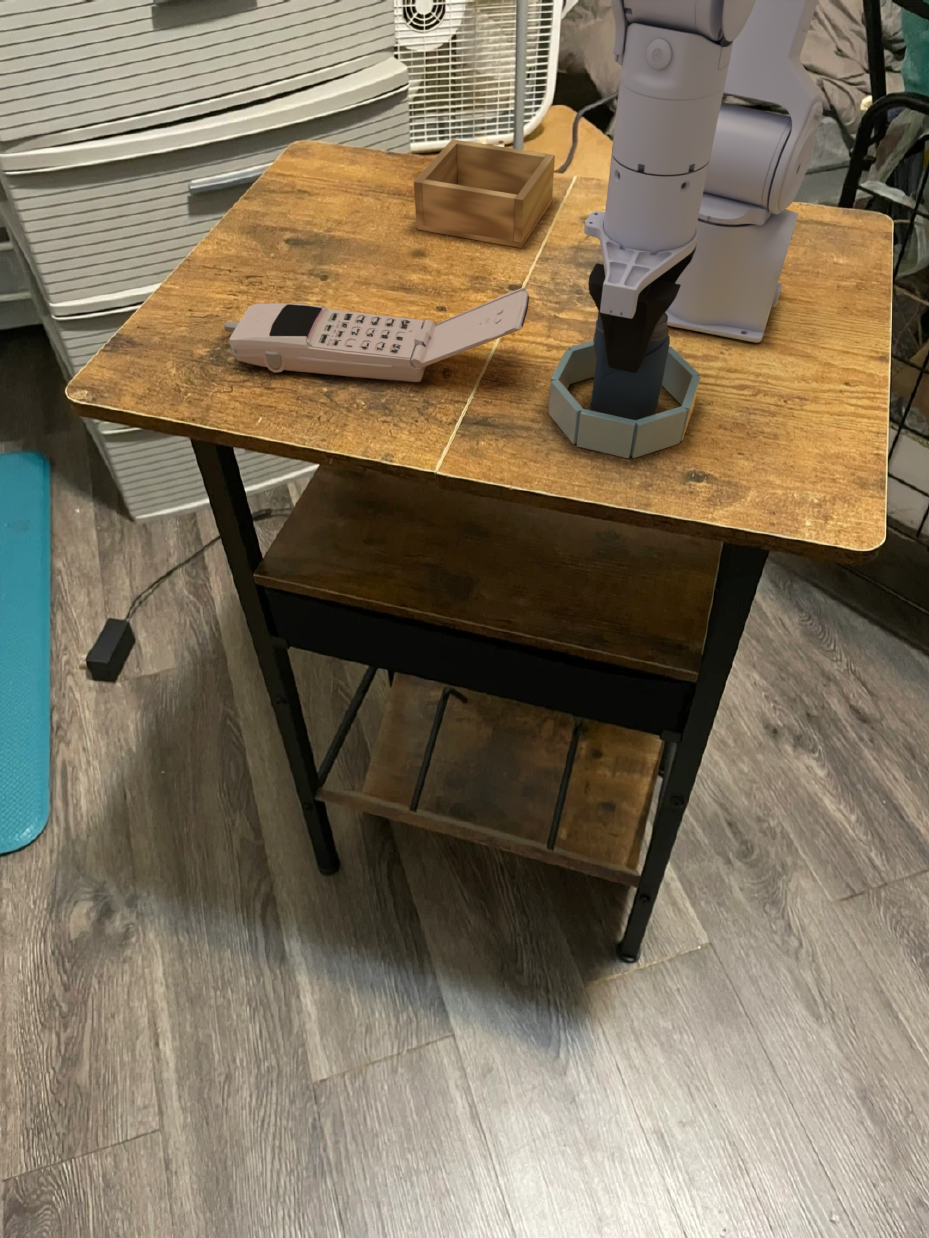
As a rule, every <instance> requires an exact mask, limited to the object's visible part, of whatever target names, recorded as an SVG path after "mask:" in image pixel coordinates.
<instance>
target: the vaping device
mask: <svg viewBox="0 0 929 1238" xmlns="http://www.w3.org/2000/svg"><path fill="white" fill-rule="evenodd" d="M667 321H668V315H667V314H666V313H664V314H663V315H662V317H661V318H660V320H659V321H658V323H657V325H656V326H655V329H654V331H653V334H652V337H651V340H650V343H649V346H648V349H647V351H646V354H645V356H644V359H643V361H642V363H641V366H640V368H639V369H638V371H637V372H636V373H633V372H628V371H623V370H618V369H613V368H610V367H609V366H608V361H607V356H606V348H605V339H604V331H603V325H602V321H601V317H600V314H599V311H598V310H597V318H596V321H595V329H594V334H593V337H592V338H593V339H592V341H594V351H595V354H596V368H595V376H594V377H593V384H592V392H591V401H590V403H589V410H591V411H596V412H600V413H605V414H609V415H614V416H618V417H623V418H627V419H632V420H638V419H642V418H645V417H648V416H651V415H655V414H656V411H657V408H658V406H659V400H660V395H661V390H662V380H663V375H664V370H665V365H666V360H667V355H668V350H669V347H670V344H671V339H670V337H671V336H670V334H669V332H670V329H669V326H668V325H667Z"/></svg>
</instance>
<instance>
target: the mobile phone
mask: <svg viewBox="0 0 929 1238" xmlns="http://www.w3.org/2000/svg"><path fill="white" fill-rule="evenodd" d="M529 303H530V294H529V292H528V290H527V288H525V287H520V288H518V289H516V290H511V291H509V292H506V293H504V294H502V295H500V296H499V297H495V298H494V299H492V300H489V301H487V302H484V303H481V304H479V305H477V306H474V307H473V308H470V309H468V310H465V311H463V312H461V313H458V314H456V315H453V316H451V317H449V318H446V319H444V320H441V321H440V322H437V323H435V322H434V321H433V320H431V319H426V320H424V319H417V318H409V317H408V318H407V317H399V316H391V315H383V314H373V313H365V312H357V311H348V310H338V309H328V308H327V307H326V306H323V305H315V304H305V303H304V304H303V303H285V302H283V303H281V302H280V303H279V302H276V303H271V302H270V303H255V304H251V305H250V306H248V307H247V309H246V310H245V311H244V313H243V315H242V317H241V318H240V320H239V321H225V322H224V330H225V332H226V333H227V332H228V333H232V334H230V337H229V338H228V342H229V346H230V348H231V353H232V356H233V358H234V359H235V360H236V361H238V362H242V363H247V364H250V365H252V366H253V365H254V366H259V367H264V368H267V369H268V370H269V371H271V372H273V373H275V374H276V373H282V372H283V371H290V372H301V373H309V374H319V375H329V376H330V375H331V376H340V377H350V378H363V379H374V380H375V379H377V380H388V381H399V382H410V383H411V382H412V383H420V382H422V379H423V376H424V373H425V370H426V367H428V366H430V365H432V364H435V363H438V362H441V361H443V360H445V359H448V358H451V357H453V356H456V355H459V354H462V353H464V352H466V351H469V350H472V349H475V348H477V347H481V346H484V345H485V344H488V343H490V342H492V341H495V340H498V339H500V338H502V337H505V336H508V335H510V334H513V333H515V332H516V333H517V332H518V331H521V330H522V329H523V328H524V325H525V320H526V317H527V314H528V310H529Z"/></svg>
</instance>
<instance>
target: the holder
mask: <svg viewBox="0 0 929 1238" xmlns="http://www.w3.org/2000/svg"><path fill="white" fill-rule="evenodd" d="M555 162H556V155H555V154H551V153H547V152H538V151H533V150H525V149H519V148H513V147H506V146H500V145H493V144H487V143H480V142H473V141H466V140H459V139H453V138H452V139H451V140H450V141H449V142H448V143H447V144H446V145H445V146H444V147H443V149H442V150H441V151H440V152H439V153H438V154H437V155H436V156H435V157H434V159H433V160H432V161H431V162H430V163H429V164H428V166H427V167H425V168H424V170H423V171H421V173H420V174H419V175H418V177H417V178H416V179H415V180H413V191H414V207H415V224H416V225H415V227H416V230H419V231H424V232H430V233H435V234H441V235H447V236H451V237H458V238H464V239H468V240H474V241H480V242H485V243H491V244H496V245H502V246H507V247H513V248H519V249H522V248H523V246H524V245H525V243H526V242H527V240H528V239H529V238H530V236H531V234H532V233H533V231H534V230H535V229H536V226H538V224H539V222H540V221H541V219H542V218H543V216H545V215H544V214H545V213H546V211H548V208H549V207H550V206H551V204H552V203H553V192H554V191H553V190H554V177H555V176H554V175H555Z"/></svg>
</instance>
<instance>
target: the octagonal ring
mask: <svg viewBox="0 0 929 1238" xmlns="http://www.w3.org/2000/svg"><path fill="white" fill-rule="evenodd" d="M595 368H596V354H595V351H594V341H593V340H590V341H586V342H583V343H578V344H575V345H572V346H569V347H568V349H567V348H566V349H565V350H564V353H563V354H562V356H561V358H560V360H559V361H558V364H557V365H556V367H555V370H554V371H553V373H552V375H551V377H550V382H549V383H550V384H549V396H548V407H547V408H548V415H549V416H550V418H551V419H552V420H553V421H554V423H555V424H556V425H557V427H559V429H560V430H561V431H562V432H563V434H564V435H565V436H566V437H567V439H568V441H570V442H571V444H572V445H576V447H578V448H581V449H585V450H586V449H587V450H591V451H594V452H599V453H603V454H608V455H612V456H616V457H621V458H625V459H630V458H632V459H635V458H639V457H642V456H645V455H648V454H652V453H654V452H657V451H660V450H664V449H667V448H670V447H673V446H677V445H679V444H680V442H683V440H684V438H685V434H686V431H687V428H688V426H689V423H690V420H691V417H692V414H693V411H694V407H695V403H696V398H697V394H698V390H699V387H700V383H701V376H700V374H701V373H699V372H698V371H697V370H696V369H695V368H694V367H693V366H692V365H691V364H690V363H689V362H688V361H687V360H686V359H685V358H684V357H683V356H682V355H681V354H680V353H679V352H677V350H675V348H673V347H672V346H670V345H669V350H668V355H667V360H666V365H665V370H664V375H663V380H662V385H661V387H663V388H664V389H665V390H666V391H667V392H668V393H669V394H670V395H671V396H672V398H673V399H675V400H676V401H677V402H678V403H679V405H681V406H678V407H675V408H671V409H668V410H665V411H661V412H658V413H654V414H653V415H651V416H648V417H645V418H642V419H638V420H632V419H627V418H623V417H618V416H614V415H609V414H605V413H600V412H596V411H591V410H590V409H587V408H583V407H582V405H581V404H580V402H579V401H577V400H576V398H575V397H574V396H573V395H572V394H571V392H570V391H569V390H568V389H569V387H570V385H571V384H576V383H579V382H582V381H585V380H589V379H593V378H594V376H595Z"/></svg>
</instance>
